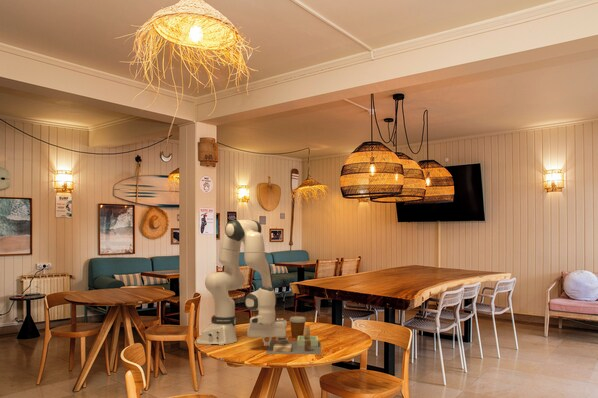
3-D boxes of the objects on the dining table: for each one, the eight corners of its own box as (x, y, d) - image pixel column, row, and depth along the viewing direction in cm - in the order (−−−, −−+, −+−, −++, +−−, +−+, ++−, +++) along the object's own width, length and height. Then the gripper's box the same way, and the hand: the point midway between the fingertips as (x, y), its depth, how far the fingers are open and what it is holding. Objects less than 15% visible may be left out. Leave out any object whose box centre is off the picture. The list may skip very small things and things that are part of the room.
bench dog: (304, 351, 236) (304, 341, 237) (304, 349, 239) (304, 339, 240) (310, 351, 236) (310, 341, 236) (310, 349, 239) (310, 339, 240)
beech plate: (273, 351, 235) (273, 347, 235) (274, 348, 242) (274, 343, 242) (290, 352, 234) (290, 347, 235) (291, 348, 241) (291, 343, 242)
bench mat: (265, 355, 231) (265, 353, 231) (270, 342, 257) (270, 341, 257) (321, 355, 231) (321, 354, 231) (320, 343, 257) (320, 341, 257)
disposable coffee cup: (304, 341, 261) (304, 319, 262) (287, 340, 263) (287, 318, 264) (307, 337, 270) (307, 316, 271) (291, 336, 272) (291, 315, 273)
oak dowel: (304, 344, 248) (304, 327, 249) (304, 342, 251) (304, 326, 252) (310, 344, 248) (309, 327, 249) (310, 342, 251) (309, 326, 252)
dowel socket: (275, 345, 247) (275, 340, 247) (276, 342, 253) (276, 337, 254) (287, 345, 247) (287, 340, 247) (288, 343, 253) (288, 337, 253)
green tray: (297, 346, 245) (297, 340, 245) (297, 342, 255) (297, 335, 255) (318, 347, 245) (318, 340, 245) (317, 342, 255) (317, 335, 255)
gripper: (287, 317, 242) (287, 344, 241) (248, 317, 243) (248, 344, 242) (286, 319, 236) (286, 347, 235) (246, 319, 236) (246, 347, 235)
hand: (266, 345), depth 238 cm, fingers closed
